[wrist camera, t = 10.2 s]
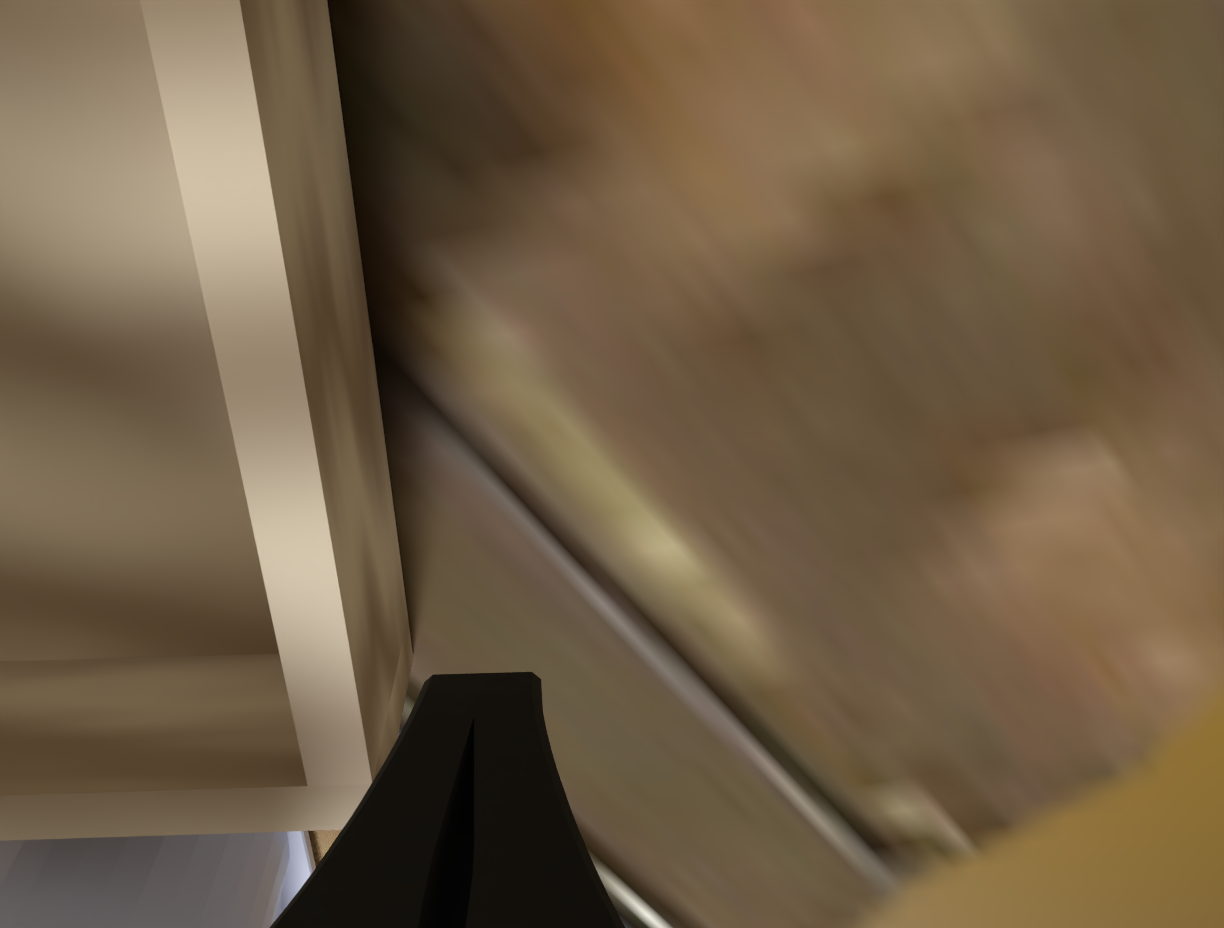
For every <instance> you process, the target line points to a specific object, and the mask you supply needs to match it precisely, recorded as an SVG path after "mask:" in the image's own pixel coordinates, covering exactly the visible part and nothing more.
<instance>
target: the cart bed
mask: <svg viewBox="0 0 1224 928" xmlns="http://www.w3.org/2000/svg"><path fill="white" fill-rule="evenodd" d="M412 660H413V651H412V643H411V636H410V628H409V620H408V613H407V605H406V598H405V590H404V582H403V575H402V567H401V559H400V552H399V544H398V537H397V529H396V521H395V514H394V506H393V498H392V491H391V483H390V476H389V468H388V460H387V453H386V445H385V437H384V430H383V422H382V415H381V407H380V399H379V392H378V384H377V376H376V369H375V361H374V354H373V346H372V338H371V331H370V323H369V315H368V308H367V300H366V293H365V285H364V277H363V270H362V262H361V255H360V247H359V239H358V232H357V224H356V216H355V209H354V201H353V194H352V186H351V178H350V171H349V163H348V155H347V148H346V140H345V133H344V125H343V117H342V110H341V102H340V94H339V87H338V79H337V72H336V64H335V56H334V49H333V41H332V33H331V26H330V18H329V11H328V3H327V0H0V841H7V840H39V839H70V838H101V837H132V836H164V835H195V834H226V833H257V832H289V831H320V830H342V829H343V828H344V826H345V825H346V823H347V822H348V821H349V819H350V818H351V816H352V815H353V813H354V811H355V810H356V808H357V807H358V805H359V804H360V802H361V800H362V799H363V797H364V795H365V794H366V792H367V790H368V789H369V787H370V785H371V784H372V782H373V780H374V779H375V777H376V775H377V774H378V772H379V770H380V769H381V767H382V765H383V764H384V762H385V760H386V759H387V757H388V755H389V753H390V751H391V750H392V748H393V746H394V744H395V742H396V740H397V738H398V733H399V728H400V723H401V717H402V712H403V707H404V702H405V697H406V692H407V686H408V681H409V676H410V671H411V666H412Z"/></svg>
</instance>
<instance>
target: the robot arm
mask: <svg viewBox="0 0 1224 928" xmlns="http://www.w3.org/2000/svg"><path fill="white" fill-rule="evenodd" d="M0 928H625V927H624V925H623V923H622V921H621V919H620V917H619V915H618V913H617V911H616V909H615V907H614V906H613V904H612V902H611V900H610V898H609V896H608V894H607V892H606V890H605V888H604V886H603V883H602V881H601V879H600V877H599V875H598V873H597V871H596V869H595V866H594V864H593V862H592V860H591V857H590V855H589V853H588V850H587V848H586V846H585V843H584V841H583V839H582V836H581V834H580V832H579V829H578V827H577V824H576V822H575V819H574V816H573V814H572V811H571V809H570V806H569V803H568V800H567V797H566V794H565V791H564V788H563V786H562V783H561V780H560V777H559V774H558V771H557V768H556V764H555V761H554V758H553V754H552V750H551V746H550V742H549V738H548V735H547V731H546V726H545V721H544V715H543V707H542V688H541V679H540V678H539V677H538V676H536V675H535V674H534V673H532V672H512V673H477V674H441V675H432V676H431V677H430V678H429V679H428V680H426V681H425V682H424V685H423V687H422V690H421V692H420V694H419V697H418V699H417V701H416V703H415V705H414V707H413V709H412V711H411V714H410V716H409V718H408V720H407V722H406V724H405V725H404V727H403V729H402V731H401V733H400V735H399V737H398V739H397V740H396V742H395V744H394V746H393V748H392V750H391V751H390V753H389V755H388V757H387V759H386V760H385V762H384V764H383V765H382V767H381V769H380V770H379V772H378V774H377V775H376V777H375V779H374V780H373V782H372V784H371V785H370V787H369V789H368V790H367V792H366V794H365V795H364V797H363V799H362V800H361V802H360V804H359V805H358V807H357V808H356V810H355V811H354V813H353V815H352V816H351V818H350V819H349V821H348V822H347V823H346V825H345V826H344V828H343V829H342V831H341V832H340V834H339V835H338V837H337V838H336V839H335V841H334V842H333V844H332V845H331V847H330V848H329V850H328V851H327V853H326V854H325V856H324V857H323V858H322V860H321V861H320V863H319V864H318V866H317V867H316V865H315V861H314V856H313V852H312V847H311V842H310V838H309V833H308V831H289V832H257V833H226V834H195V835H164V836H132V837H101V838H70V839H39V840H7V841H0Z"/></svg>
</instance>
